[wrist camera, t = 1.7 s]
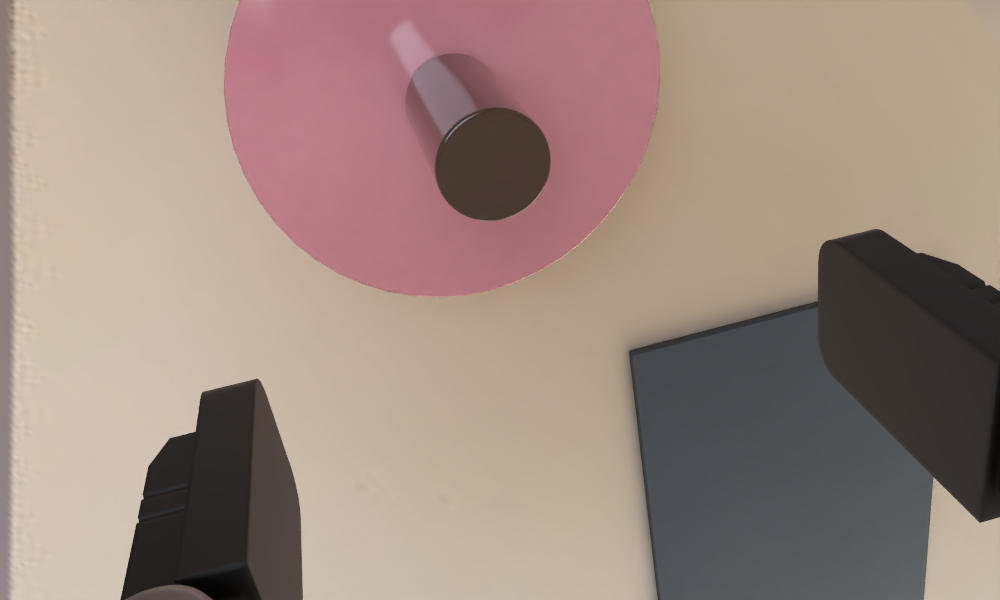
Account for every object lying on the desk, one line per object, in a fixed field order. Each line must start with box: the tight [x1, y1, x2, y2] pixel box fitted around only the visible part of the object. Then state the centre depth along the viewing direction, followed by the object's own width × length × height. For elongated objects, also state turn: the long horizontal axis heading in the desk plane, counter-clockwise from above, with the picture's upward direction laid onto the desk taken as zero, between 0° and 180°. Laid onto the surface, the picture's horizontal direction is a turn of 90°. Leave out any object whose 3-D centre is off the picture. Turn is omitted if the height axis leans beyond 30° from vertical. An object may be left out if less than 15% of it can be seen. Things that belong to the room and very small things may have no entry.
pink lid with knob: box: [224, 0, 660, 297], centre depth 21 cm, size 11×11×6 cm
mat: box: [629, 302, 933, 600], centre depth 43 cm, size 20×14×1 cm
